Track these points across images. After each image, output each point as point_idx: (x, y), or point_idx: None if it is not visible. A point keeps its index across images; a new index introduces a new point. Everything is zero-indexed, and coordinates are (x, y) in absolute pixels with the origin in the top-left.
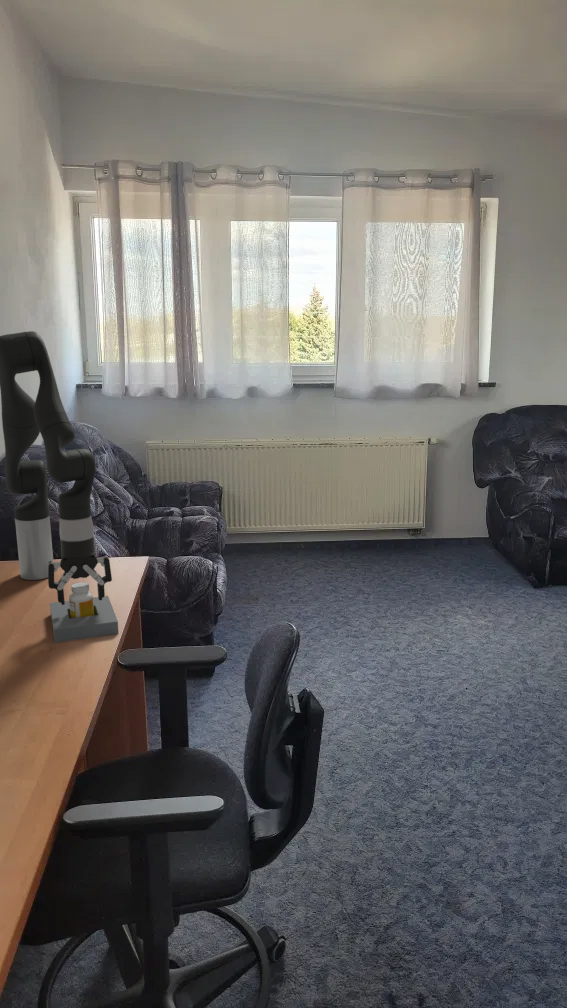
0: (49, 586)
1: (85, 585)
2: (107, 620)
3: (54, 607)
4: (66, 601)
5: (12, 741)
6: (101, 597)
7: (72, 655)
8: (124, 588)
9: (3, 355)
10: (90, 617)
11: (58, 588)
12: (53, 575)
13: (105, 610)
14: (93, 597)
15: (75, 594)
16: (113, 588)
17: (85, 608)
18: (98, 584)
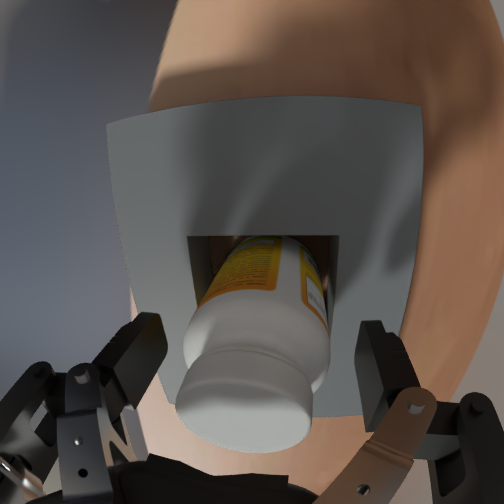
0: (488, 404)
1: (196, 405)
2: (145, 145)
3: None
4: (315, 413)
5: None
6: (138, 317)
7: None
8: (160, 438)
9: None
10: (226, 212)
11: (426, 398)
12: (485, 490)
13: (158, 279)
14: None
15: (290, 358)
16: (185, 448)
17: (242, 269)
18: (119, 390)
